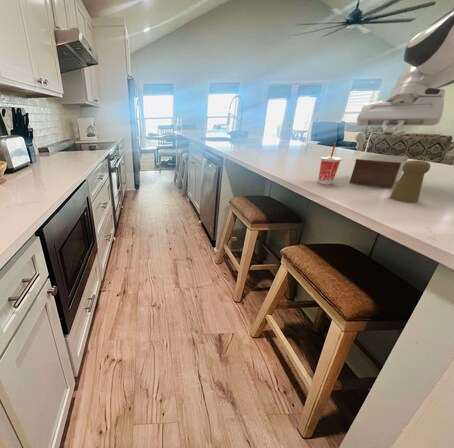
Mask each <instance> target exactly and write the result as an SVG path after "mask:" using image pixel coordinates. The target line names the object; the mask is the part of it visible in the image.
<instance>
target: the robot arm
mask: <svg viewBox="0 0 454 448" xmlns="http://www.w3.org/2000/svg"><path fill="white" fill-rule="evenodd" d="M403 61H404V62H405V63H406V64H407V65H406V66H405V67H404V69H403V70H402V72H401V73H400V75H399V77H398V78H397V80H396V82H395V86H394V88H393V89H392V90H391V92H390V94H389V96H388V97H387V98H388V99H387V100H377V101H375V100H373V101H370V102H368V103H364V104H363V106H362V108H361V111H360V112H359V114H358V115H357V118H356V123H357V125H358V126H361V127H363V126H365V127H366V126H367V127H368V126H371V127H372V126H379V127H381V128H382V130H383V131H382V136H395V135H396V133H397V132H398V131H399V130H401V129H402V128H403V127H404V126H406V127H407V126H410V127H411V126H414V127H415V126H419V127H420V126H424V127H425V126H426V127H427V126H432V127H433V126H436V125H438V124H440V122H441V119H442V117H443V114H444V111H445V106H446V99H445V96H446V89H444V87H447V86H449V85H452V84H454V7H452V9H450V10H449V11H448V12H446V13H445V14H444V15H442V16H441V17H440V18H438V19H437V20H436V21H434V22H432V24H430V25H429V26H428V27H426V28H424V29H423V30H421V31H420V32H419V33H417V35H415V36H414V37H413V38H412V39H411V40H410V41H409V42H407V44H406V46H405V49H404V53H403ZM390 126H394V127H390Z"/></svg>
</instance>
